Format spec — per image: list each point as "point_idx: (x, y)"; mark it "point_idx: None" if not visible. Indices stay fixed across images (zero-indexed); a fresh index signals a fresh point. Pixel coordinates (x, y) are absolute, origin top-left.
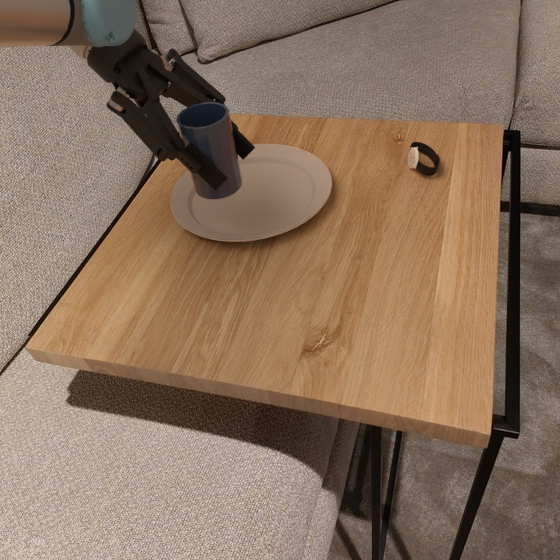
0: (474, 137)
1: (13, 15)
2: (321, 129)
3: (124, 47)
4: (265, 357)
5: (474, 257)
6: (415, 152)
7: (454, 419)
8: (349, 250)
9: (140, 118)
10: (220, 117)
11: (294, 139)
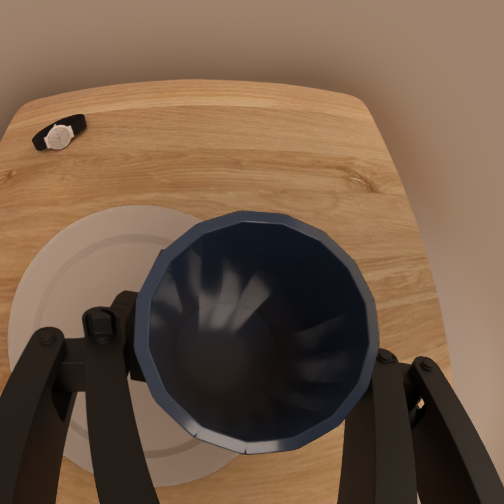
0: (26, 114)
1: None
2: None
3: None
4: (394, 220)
5: (213, 87)
6: (60, 126)
7: (365, 108)
8: (228, 173)
9: (486, 461)
10: (162, 309)
11: None
